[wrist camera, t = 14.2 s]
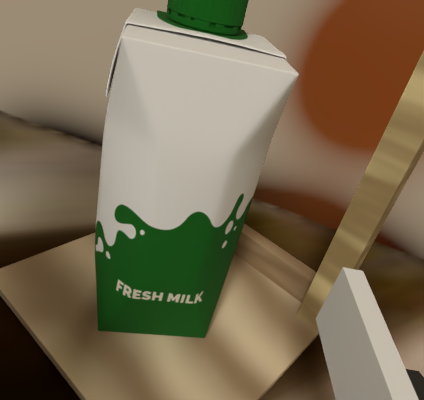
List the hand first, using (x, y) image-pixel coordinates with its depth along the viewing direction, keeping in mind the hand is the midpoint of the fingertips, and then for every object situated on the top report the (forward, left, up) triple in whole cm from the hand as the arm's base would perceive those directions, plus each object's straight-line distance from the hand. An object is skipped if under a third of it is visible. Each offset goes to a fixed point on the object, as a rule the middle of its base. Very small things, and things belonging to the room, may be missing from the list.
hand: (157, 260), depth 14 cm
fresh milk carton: (-6, +7, -12) cm, 15 cm away
